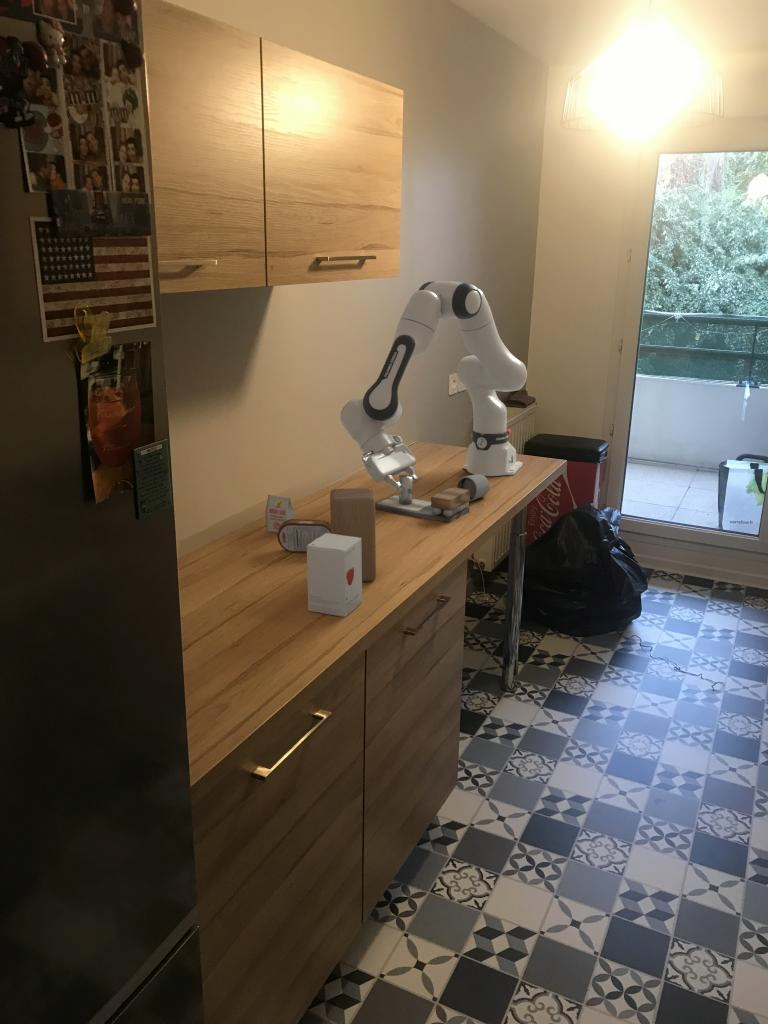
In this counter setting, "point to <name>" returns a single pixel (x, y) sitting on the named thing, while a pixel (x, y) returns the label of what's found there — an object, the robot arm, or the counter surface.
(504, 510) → the counter surface
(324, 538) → the supplement box
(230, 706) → the counter surface
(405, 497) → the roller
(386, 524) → the counter surface
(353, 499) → the wooden block
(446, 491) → the grey board with block
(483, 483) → the ceramic mug
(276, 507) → the tea bag
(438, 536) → the counter surface
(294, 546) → the tin
